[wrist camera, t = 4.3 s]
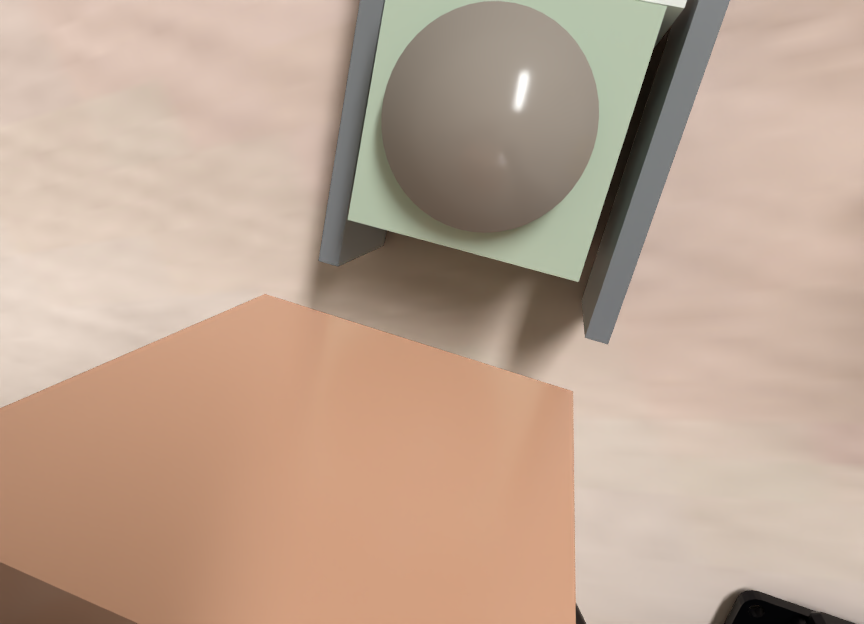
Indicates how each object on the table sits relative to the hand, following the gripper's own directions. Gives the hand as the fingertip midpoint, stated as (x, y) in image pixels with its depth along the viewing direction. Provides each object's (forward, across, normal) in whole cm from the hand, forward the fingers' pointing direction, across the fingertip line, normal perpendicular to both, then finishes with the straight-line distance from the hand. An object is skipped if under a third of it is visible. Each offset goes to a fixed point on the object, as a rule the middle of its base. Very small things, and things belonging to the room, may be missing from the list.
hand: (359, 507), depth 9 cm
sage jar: (+11, 0, -6) cm, 13 cm away
